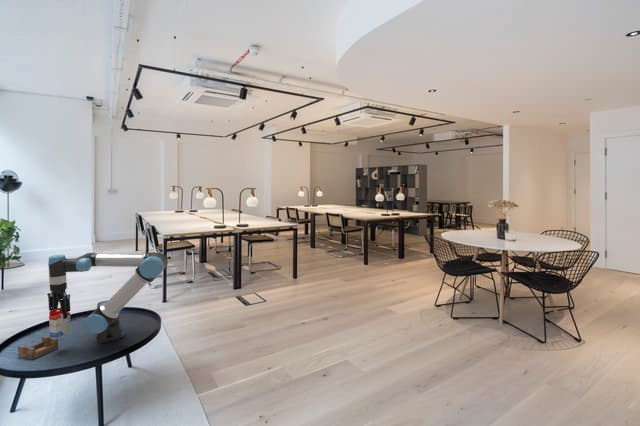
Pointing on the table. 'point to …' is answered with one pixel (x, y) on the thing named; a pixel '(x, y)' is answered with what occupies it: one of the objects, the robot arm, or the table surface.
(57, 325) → the red white carton
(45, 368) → the table surface
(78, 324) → the table surface
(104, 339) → the robot arm
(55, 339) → the wooden crate
